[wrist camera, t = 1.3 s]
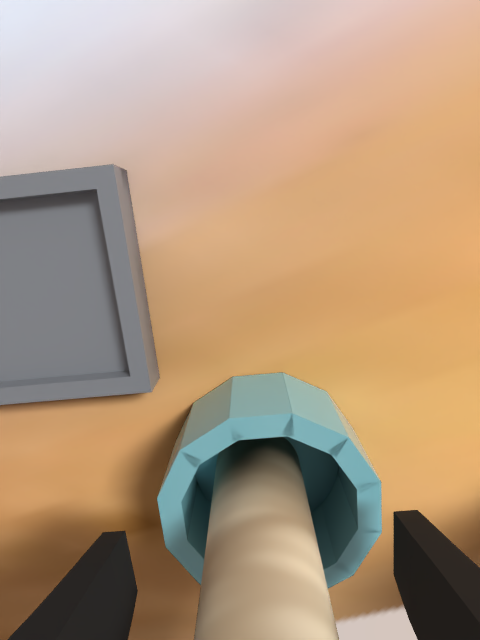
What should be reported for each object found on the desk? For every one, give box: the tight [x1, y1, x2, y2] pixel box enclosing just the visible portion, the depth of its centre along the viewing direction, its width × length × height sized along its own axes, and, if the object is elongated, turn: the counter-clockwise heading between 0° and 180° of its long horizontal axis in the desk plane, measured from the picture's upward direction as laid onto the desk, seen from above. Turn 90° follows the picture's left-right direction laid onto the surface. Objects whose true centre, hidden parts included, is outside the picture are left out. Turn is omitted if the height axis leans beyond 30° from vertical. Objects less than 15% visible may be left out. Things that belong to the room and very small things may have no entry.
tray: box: [0, 164, 160, 405], centre depth 12 cm, size 9×7×1 cm
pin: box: [194, 437, 339, 640], centre depth 10 cm, size 3×3×8 cm
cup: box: [157, 373, 382, 588], centre depth 13 cm, size 7×7×3 cm
